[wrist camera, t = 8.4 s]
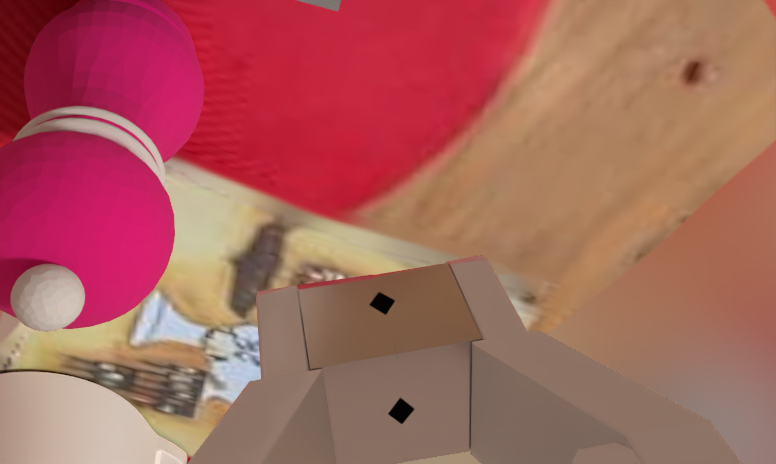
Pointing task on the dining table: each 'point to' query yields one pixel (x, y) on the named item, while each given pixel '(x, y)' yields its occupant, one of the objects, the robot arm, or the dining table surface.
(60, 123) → the pepper mill
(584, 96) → the dining table surface
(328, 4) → the breaker panel
